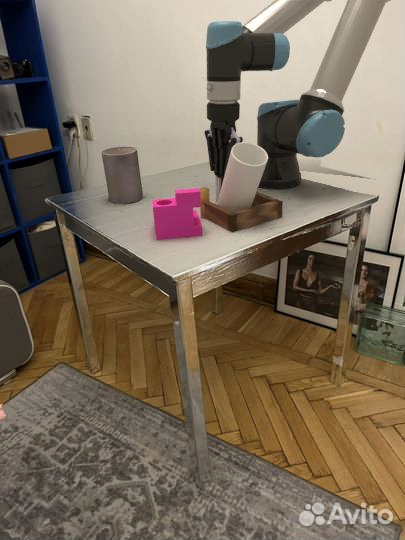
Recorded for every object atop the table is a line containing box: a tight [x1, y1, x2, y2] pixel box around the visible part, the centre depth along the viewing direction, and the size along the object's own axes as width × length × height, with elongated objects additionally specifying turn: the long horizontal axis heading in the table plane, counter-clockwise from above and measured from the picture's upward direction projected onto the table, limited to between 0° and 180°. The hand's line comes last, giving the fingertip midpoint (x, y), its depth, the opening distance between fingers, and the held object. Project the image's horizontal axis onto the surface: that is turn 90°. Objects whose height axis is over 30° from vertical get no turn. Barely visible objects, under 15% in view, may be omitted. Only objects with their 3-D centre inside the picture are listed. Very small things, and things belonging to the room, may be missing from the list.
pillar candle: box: [101, 146, 144, 205], centre depth 112 cm, size 10×10×15 cm
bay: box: [199, 187, 284, 233], centre depth 97 cm, size 16×13×7 cm
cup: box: [216, 141, 268, 212], centre depth 93 cm, size 8×8×16 cm
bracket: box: [151, 187, 203, 241], centre depth 92 cm, size 12×10×10 cm
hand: (221, 201), depth 102 cm, fingers closed
